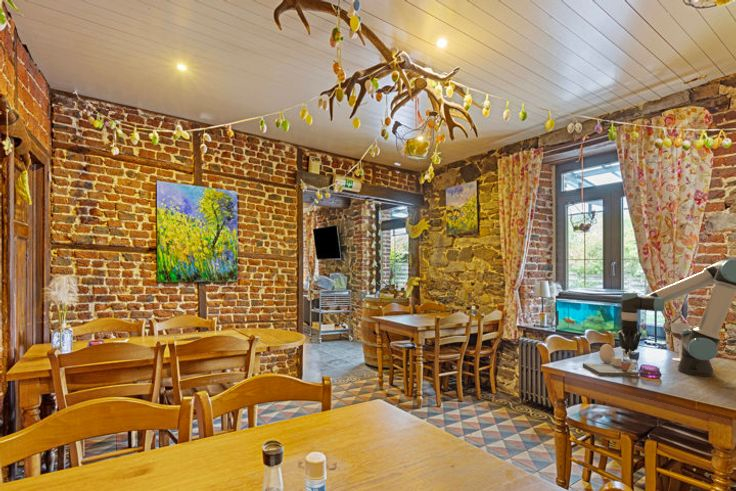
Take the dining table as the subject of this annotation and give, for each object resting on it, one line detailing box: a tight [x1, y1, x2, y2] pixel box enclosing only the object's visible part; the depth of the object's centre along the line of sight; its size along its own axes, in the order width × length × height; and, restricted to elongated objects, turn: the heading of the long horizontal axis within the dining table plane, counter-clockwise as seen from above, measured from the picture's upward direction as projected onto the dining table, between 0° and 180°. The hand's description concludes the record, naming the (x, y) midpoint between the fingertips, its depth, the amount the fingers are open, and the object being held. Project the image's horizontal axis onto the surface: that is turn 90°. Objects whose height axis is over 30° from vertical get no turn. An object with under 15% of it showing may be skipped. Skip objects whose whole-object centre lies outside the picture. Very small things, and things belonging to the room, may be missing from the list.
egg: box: [598, 343, 616, 364], centre depth 234 cm, size 8×8×11 cm
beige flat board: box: [582, 362, 638, 378], centre depth 217 cm, size 20×18×2 cm
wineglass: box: [670, 322, 690, 362], centre depth 244 cm, size 9×10×22 cm
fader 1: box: [611, 356, 623, 366], centre depth 221 cm, size 3×4×4 cm
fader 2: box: [621, 360, 631, 371], centre depth 212 cm, size 3×4×4 cm
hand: (629, 362), depth 221 cm, fingers closed
